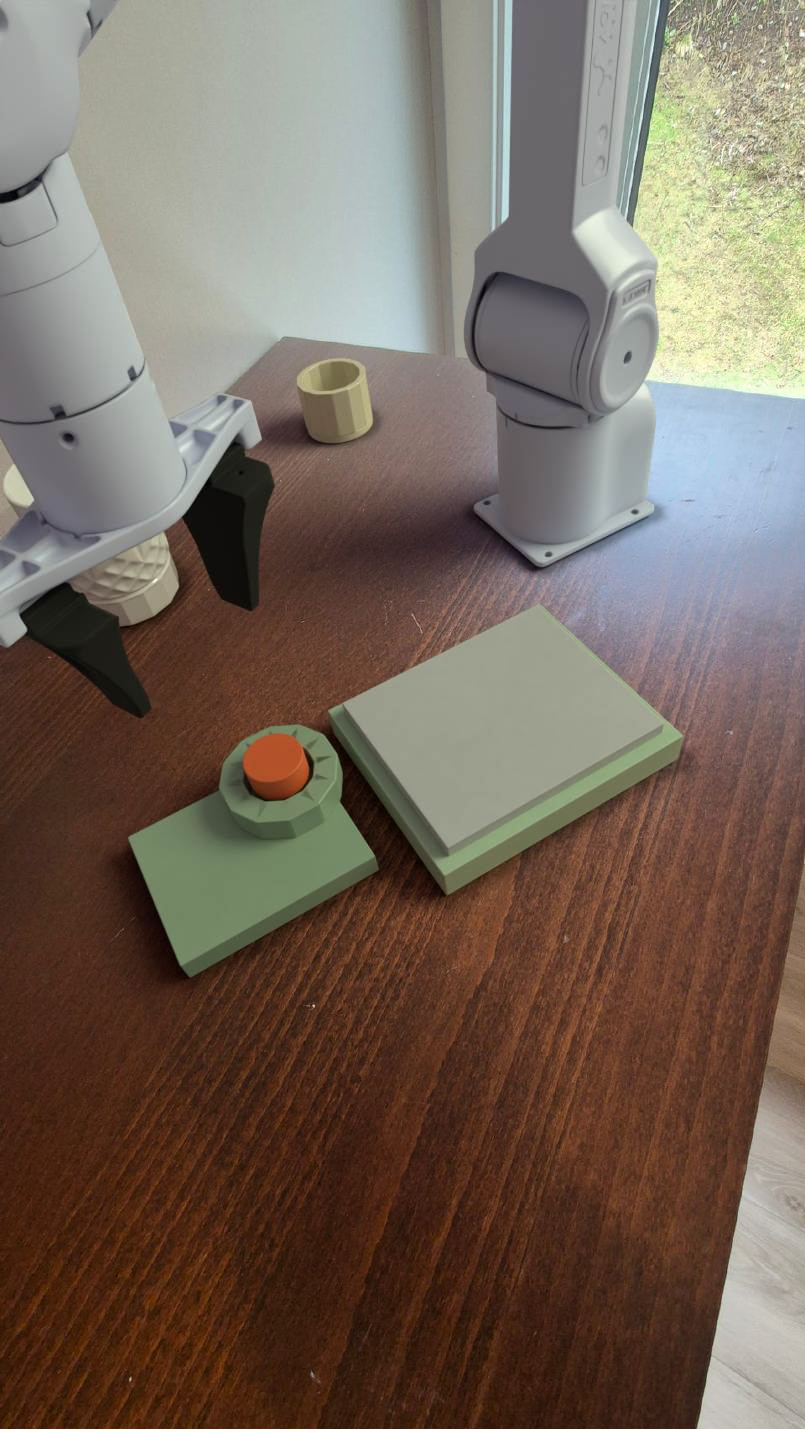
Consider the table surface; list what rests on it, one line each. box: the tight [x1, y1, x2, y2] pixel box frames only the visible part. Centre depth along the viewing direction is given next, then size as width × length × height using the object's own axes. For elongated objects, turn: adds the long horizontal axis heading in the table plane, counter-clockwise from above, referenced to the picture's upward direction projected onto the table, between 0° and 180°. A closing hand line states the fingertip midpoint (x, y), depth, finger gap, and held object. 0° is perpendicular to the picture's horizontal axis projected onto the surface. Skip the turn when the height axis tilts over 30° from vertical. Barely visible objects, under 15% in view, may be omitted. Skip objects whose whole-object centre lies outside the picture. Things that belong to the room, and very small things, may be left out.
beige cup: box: [296, 357, 374, 444], centre depth 65 cm, size 5×6×4 cm
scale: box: [327, 603, 684, 896], centre depth 43 cm, size 14×12×3 cm
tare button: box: [243, 733, 309, 800], centre depth 40 cm, size 3×3×2 cm
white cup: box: [1, 462, 180, 627], centre depth 52 cm, size 8×8×10 cm
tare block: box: [127, 724, 380, 978], centre depth 40 cm, size 11×9×3 cm
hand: (188, 651), depth 39 cm, fingers open, 7 cm apart
